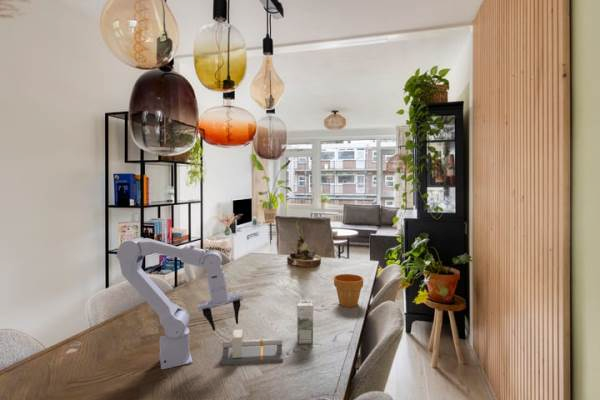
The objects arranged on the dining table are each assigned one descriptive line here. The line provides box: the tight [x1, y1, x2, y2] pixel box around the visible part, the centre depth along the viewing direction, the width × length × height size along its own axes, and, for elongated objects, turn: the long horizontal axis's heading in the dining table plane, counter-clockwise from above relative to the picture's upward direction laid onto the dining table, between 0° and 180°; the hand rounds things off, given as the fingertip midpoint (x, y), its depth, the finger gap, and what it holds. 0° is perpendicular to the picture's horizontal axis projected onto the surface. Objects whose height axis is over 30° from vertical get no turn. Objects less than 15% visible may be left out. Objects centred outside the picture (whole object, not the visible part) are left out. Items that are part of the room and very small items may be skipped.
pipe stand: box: [220, 338, 284, 366], centre depth 112 cm, size 20×9×6 cm, turn 96°
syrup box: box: [296, 300, 314, 345], centre depth 123 cm, size 6×6×14 cm
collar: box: [231, 329, 244, 358], centre depth 111 cm, size 3×6×7 cm, turn 6°
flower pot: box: [333, 273, 364, 308], centre depth 161 cm, size 14×14×13 cm
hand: (225, 326), depth 111 cm, fingers open, 7 cm apart
